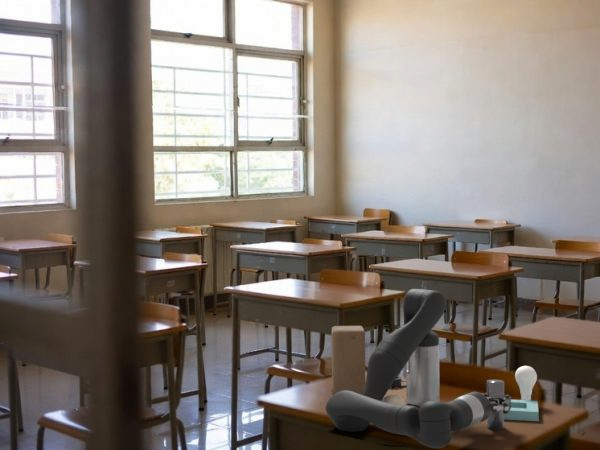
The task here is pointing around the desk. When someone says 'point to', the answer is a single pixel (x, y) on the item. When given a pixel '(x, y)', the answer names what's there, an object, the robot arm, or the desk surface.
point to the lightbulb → (526, 381)
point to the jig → (523, 410)
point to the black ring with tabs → (397, 382)
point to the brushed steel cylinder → (497, 417)
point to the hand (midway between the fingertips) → (499, 397)
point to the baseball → (394, 399)
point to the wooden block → (348, 359)
